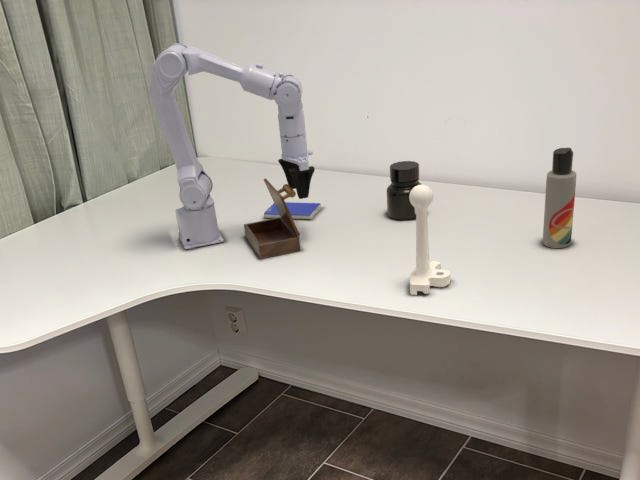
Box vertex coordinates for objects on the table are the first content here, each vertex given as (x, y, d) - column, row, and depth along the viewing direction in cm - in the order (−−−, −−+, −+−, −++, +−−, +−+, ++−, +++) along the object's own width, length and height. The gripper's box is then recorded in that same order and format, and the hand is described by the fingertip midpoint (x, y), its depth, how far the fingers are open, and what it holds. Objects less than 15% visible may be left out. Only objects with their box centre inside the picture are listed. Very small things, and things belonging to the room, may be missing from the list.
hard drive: (263, 212, 195) (310, 214, 191) (275, 201, 202) (320, 202, 197) (264, 218, 196) (310, 220, 192) (276, 207, 202) (321, 208, 198)
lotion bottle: (572, 248, 161) (580, 152, 150) (543, 248, 162) (549, 153, 152) (569, 237, 165) (577, 144, 155) (541, 238, 167) (547, 145, 157)
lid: (280, 197, 168) (297, 188, 168) (263, 179, 181) (279, 170, 181) (297, 236, 173) (314, 227, 174) (280, 215, 186) (295, 207, 186)
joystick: (419, 270, 159) (416, 175, 149) (455, 272, 157) (455, 175, 147) (405, 294, 151) (401, 195, 141) (444, 297, 148) (443, 196, 138)
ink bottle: (426, 219, 183) (426, 169, 177) (389, 223, 184) (387, 173, 178) (421, 205, 192) (420, 157, 186) (385, 209, 192) (383, 161, 186)
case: (260, 259, 174) (258, 245, 172) (245, 237, 186) (243, 224, 185) (300, 250, 175) (299, 237, 174) (283, 229, 188) (281, 216, 186)
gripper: (319, 138, 167) (324, 198, 174) (300, 124, 180) (306, 181, 186) (288, 143, 166) (294, 204, 173) (271, 129, 178) (278, 186, 185)
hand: (298, 193), depth 180 cm, fingers open, 7 cm apart
